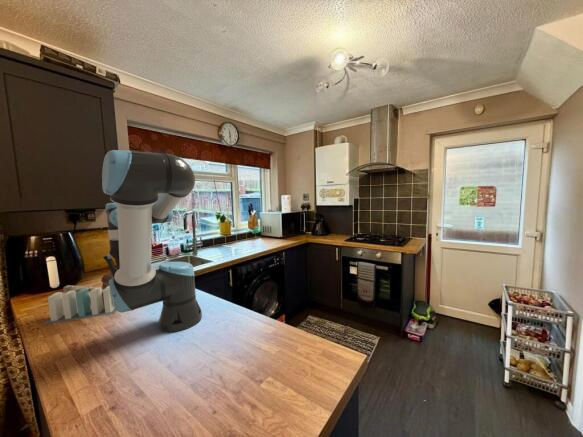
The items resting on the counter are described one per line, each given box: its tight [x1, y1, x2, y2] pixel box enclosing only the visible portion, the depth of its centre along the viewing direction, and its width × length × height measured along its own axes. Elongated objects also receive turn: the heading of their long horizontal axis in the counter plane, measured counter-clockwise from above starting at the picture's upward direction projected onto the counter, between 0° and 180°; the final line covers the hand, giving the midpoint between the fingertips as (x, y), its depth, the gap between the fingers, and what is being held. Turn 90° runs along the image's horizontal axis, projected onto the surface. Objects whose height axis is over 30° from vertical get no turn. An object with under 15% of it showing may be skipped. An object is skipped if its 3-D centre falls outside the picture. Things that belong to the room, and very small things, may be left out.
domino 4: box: [102, 286, 115, 313], centre depth 103 cm, size 2×5×10 cm, turn 18°
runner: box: [41, 306, 117, 326], centre depth 101 cm, size 24×9×1 cm, turn 108°
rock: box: [62, 284, 104, 309], centre depth 113 cm, size 24×9×15 cm
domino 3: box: [89, 286, 104, 315], centre depth 101 cm, size 2×5×10 cm, turn 17°
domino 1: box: [47, 291, 65, 321], centre depth 97 cm, size 2×5×10 cm, turn 18°
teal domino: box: [76, 289, 92, 317], centre depth 100 cm, size 2×5×10 cm, turn 17°
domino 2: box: [62, 290, 78, 319], centre depth 99 cm, size 2×5×10 cm, turn 18°
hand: (125, 291), depth 105 cm, fingers closed
